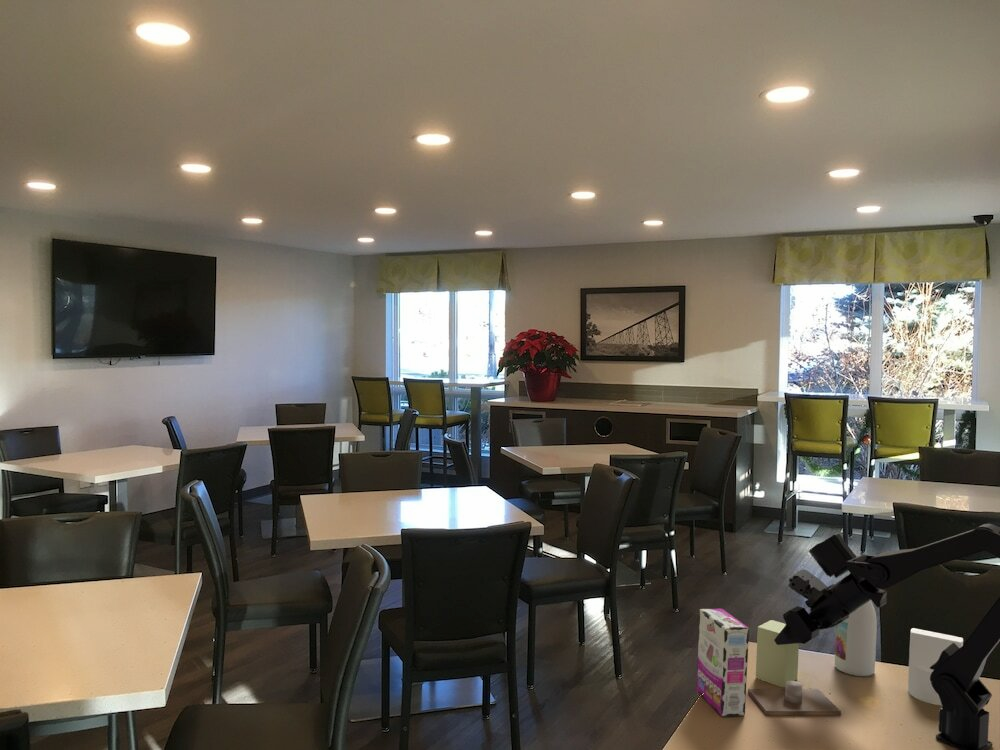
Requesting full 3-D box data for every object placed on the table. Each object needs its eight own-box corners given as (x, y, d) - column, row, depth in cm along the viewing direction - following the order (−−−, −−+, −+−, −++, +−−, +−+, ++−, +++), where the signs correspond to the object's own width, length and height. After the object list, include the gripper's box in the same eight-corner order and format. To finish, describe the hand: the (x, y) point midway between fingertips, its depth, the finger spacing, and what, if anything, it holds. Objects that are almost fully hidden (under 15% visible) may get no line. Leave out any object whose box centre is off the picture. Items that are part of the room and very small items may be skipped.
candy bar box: (747, 716, 142) (750, 627, 141) (721, 718, 141) (725, 628, 140) (719, 689, 153) (722, 606, 152) (695, 690, 152) (698, 607, 151)
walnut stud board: (818, 693, 152) (819, 674, 152) (840, 715, 143) (841, 695, 143) (748, 692, 151) (748, 673, 151) (766, 715, 142) (766, 694, 142)
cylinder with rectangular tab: (961, 693, 154) (964, 633, 153) (958, 710, 146) (961, 647, 146) (910, 681, 159) (913, 623, 158) (905, 697, 151) (908, 636, 151)
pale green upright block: (797, 679, 158) (799, 627, 158) (784, 687, 154) (786, 635, 153) (769, 669, 162) (771, 619, 162) (755, 678, 158) (757, 626, 158)
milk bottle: (877, 668, 165) (881, 575, 164) (871, 680, 158) (875, 583, 157) (838, 659, 169) (842, 568, 168) (830, 671, 163) (835, 576, 162)
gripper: (836, 552, 158) (781, 592, 167) (795, 569, 145) (738, 611, 154) (874, 600, 153) (816, 638, 162) (836, 622, 140) (774, 663, 148)
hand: (786, 636), depth 156 cm, fingers open, 9 cm apart
